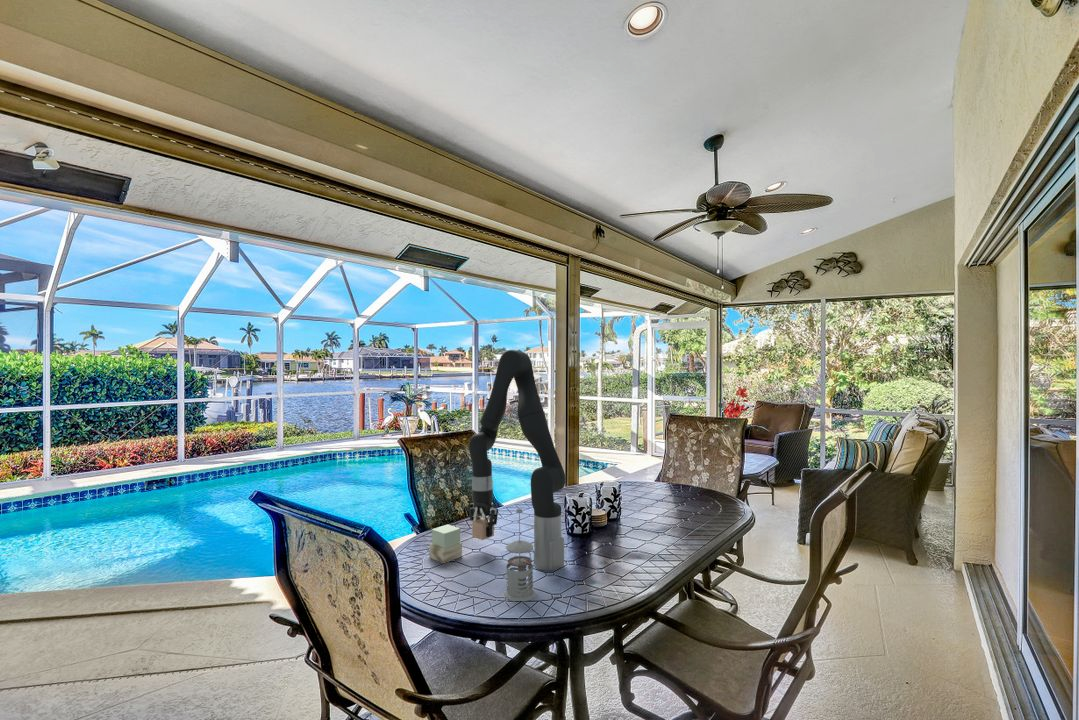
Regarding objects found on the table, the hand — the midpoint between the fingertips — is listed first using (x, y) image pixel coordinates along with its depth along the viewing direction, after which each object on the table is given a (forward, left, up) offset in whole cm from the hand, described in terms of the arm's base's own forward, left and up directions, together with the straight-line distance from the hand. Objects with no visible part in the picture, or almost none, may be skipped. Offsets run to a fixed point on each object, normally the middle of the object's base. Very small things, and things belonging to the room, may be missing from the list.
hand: (483, 534), depth 177 cm
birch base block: (+6, +12, -6) cm, 15 cm away
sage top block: (+6, +12, -1) cm, 13 cm away
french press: (-33, +14, -6) cm, 36 cm away
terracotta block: (0, 0, -1) cm, 1 cm away
